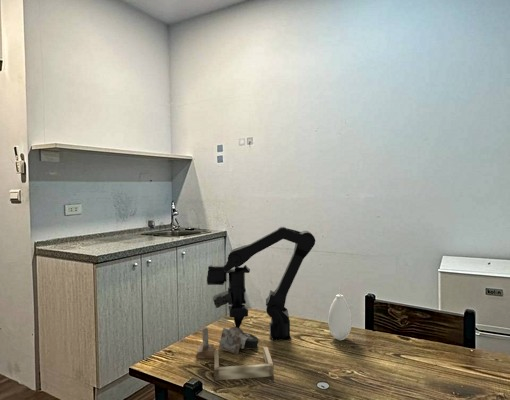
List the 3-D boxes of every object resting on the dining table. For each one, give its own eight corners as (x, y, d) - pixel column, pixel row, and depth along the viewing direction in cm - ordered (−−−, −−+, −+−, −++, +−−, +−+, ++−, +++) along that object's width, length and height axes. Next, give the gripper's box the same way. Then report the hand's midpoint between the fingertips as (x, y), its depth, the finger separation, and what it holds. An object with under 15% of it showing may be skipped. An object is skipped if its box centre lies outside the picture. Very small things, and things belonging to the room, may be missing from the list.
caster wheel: (257, 350, 123) (251, 359, 113) (227, 340, 126) (217, 348, 116) (262, 331, 123) (255, 338, 114) (231, 321, 126) (222, 327, 116)
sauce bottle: (354, 337, 126) (354, 286, 126) (347, 345, 119) (347, 292, 119) (333, 333, 130) (332, 283, 130) (325, 340, 124) (324, 288, 123)
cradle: (267, 356, 113) (267, 346, 113) (273, 376, 101) (273, 365, 101) (214, 359, 111) (214, 350, 111) (214, 380, 99) (214, 369, 99)
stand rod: (213, 350, 117) (213, 326, 117) (213, 357, 112) (213, 332, 112) (198, 351, 117) (197, 326, 117) (197, 358, 112) (196, 333, 112)
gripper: (214, 279, 136) (214, 320, 136) (213, 293, 117) (214, 340, 118) (243, 278, 137) (244, 318, 138) (247, 291, 119) (248, 338, 119)
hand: (237, 328), depth 128 cm, fingers closed
